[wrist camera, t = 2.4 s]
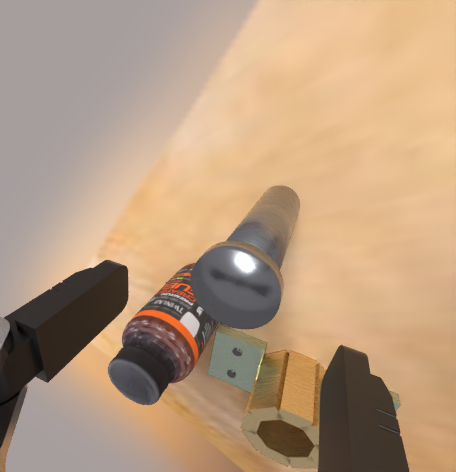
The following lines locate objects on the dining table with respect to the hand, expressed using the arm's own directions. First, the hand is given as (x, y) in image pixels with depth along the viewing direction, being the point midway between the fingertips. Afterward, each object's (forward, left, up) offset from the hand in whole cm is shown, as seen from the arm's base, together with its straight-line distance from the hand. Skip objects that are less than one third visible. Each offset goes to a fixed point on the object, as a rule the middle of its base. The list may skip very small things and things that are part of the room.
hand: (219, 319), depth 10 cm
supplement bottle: (+10, -5, -14) cm, 18 cm away
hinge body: (+18, +6, -13) cm, 23 cm away
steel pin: (0, 0, -13) cm, 13 cm away
